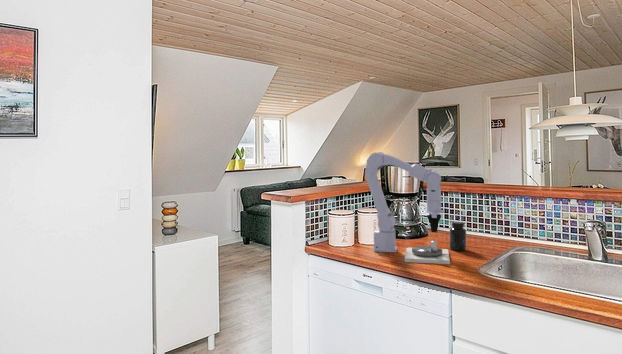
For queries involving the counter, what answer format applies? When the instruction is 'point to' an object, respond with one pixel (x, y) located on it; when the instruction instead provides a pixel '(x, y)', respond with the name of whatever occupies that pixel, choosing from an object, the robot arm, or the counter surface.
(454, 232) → the supplement bottle
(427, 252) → the dial
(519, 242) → the counter surface
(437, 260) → the dial plate
